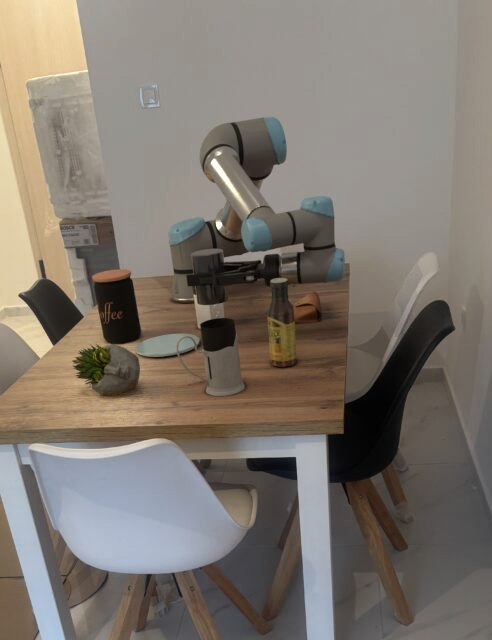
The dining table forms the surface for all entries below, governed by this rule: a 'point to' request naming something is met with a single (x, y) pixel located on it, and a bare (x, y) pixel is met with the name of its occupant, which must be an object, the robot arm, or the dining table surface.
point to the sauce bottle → (281, 325)
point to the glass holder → (219, 357)
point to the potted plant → (108, 369)
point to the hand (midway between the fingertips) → (191, 276)
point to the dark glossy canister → (206, 264)
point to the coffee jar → (117, 306)
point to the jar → (207, 311)
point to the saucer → (166, 345)
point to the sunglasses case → (307, 308)
